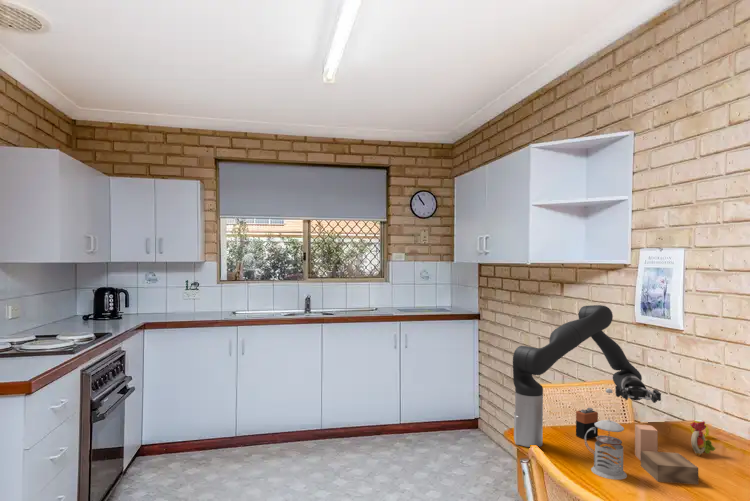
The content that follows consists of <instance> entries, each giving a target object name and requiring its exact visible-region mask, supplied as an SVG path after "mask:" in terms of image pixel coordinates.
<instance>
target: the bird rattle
mask: <svg viewBox="0 0 750 501" xmlns="http://www.w3.org/2000/svg"><path fill="white" fill-rule="evenodd" d="M692 422H693V421H692ZM692 422H691V423H690V425H691V426H692V427H693V429H694V432H693V433H692V434H691V438H690V443H691V448H692V450H693V452H694V453H695V455H696V456H701V455H702V454H703V453H704V452H705V454H710V453H711V452H715V450H716V447H714V445H712V444H713V443H712V441H711V440H710V439H706V437H704V436H705V434H704V432H703V431H704V430H706V429H705V428H706V425H707V424H706V422H705V421H704V420H703V422H700V423H696V422H693V423H692ZM705 424H706V425H705Z"/></svg>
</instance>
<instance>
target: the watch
mask: <svg viewBox="0 0 750 501" xmlns="http://www.w3.org/2000/svg"><path fill="white" fill-rule="evenodd" d="M703 421H704V420H701V419H694V421H691V423H693V422H695V423H700V422H703ZM705 425H706V428H705V429H704V430H705V434H704V437H705V438H707V437H708V435H709V433H710V429H709V426H708V425H707V424H706V423H705ZM689 428H690V429H689V430H690V432H691V433H692V434H693V432H694V430H695V429H694V428H693V427H692V426H691V425H690V426H689Z"/></svg>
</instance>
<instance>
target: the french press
mask: <svg viewBox="0 0 750 501" xmlns="http://www.w3.org/2000/svg"><path fill="white" fill-rule="evenodd" d="M605 393H608V394H613V390H612V388H606V389H605ZM594 424H595V427H597V428H598V430H602V431H605V432H612V433H613V432H614V433H621V432H624V430H625V428H624V426H622V425H621V424H620V423H618V422H616V421H614V420H610V419H606V420H605V419H601V420H598V422H596V423H594ZM593 428H594V427H593ZM593 428H590V429H589V430H588V431H587V432H586V434H585V437H584V438H585V439H584V445H585V447H586V449H588V451H589V452H590V453H592V454H593V466H592V467H591V468H590V470H591V472H592V473H593V474H594V475H596V476H599V477H602V478H605V479H610V480H618V481H619V480H624V479H625V480H626V478H627V477H628V475H627V473H626V472H625V471H624V446H623V445H622V444H623V441H622V440H621V439H619V438H618V437H615V436H610V435H607V434H606V435H598V436H597V437H596V438H595V439H596V441H595V442H594V449H592V448H591V447H590V446H589V444H588V442H587V439H586V435H587V433H588V432H589V431H590V430H594V433H596V428H595V429H593ZM602 445H603V446H602ZM607 445H608V446H607ZM605 453H607V454H605ZM604 457H605V458H604Z"/></svg>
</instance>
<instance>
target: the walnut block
mask: <svg viewBox="0 0 750 501" xmlns="http://www.w3.org/2000/svg"><path fill="white" fill-rule="evenodd" d="M640 466H641V468H642V469H643V470H645V471H646V473H648V474H649V476H651V477H652V478H653V479H654V480H655V481H656V482H658V483H659V482H660V483H671V484H672V483H673V484H686V485H688V484H689V485H690V484H691V485H699V467H698V466H697V465H695V464H694V463H692V462H691V461H690V460H688V459H687V458H686V457H684V456H683V455H682V454H680V453H679V452H668V451H667V452H665V451H657V452H653V451H641V461H640Z"/></svg>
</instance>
